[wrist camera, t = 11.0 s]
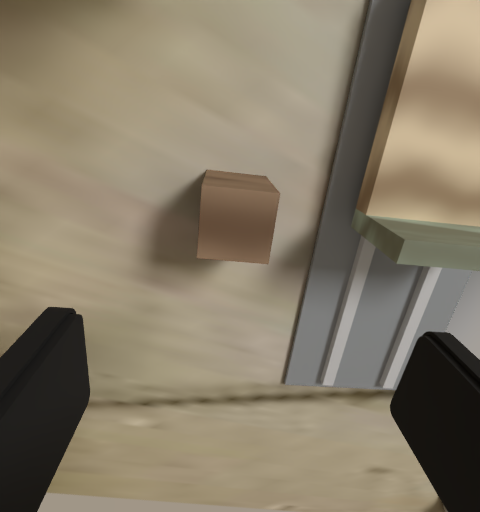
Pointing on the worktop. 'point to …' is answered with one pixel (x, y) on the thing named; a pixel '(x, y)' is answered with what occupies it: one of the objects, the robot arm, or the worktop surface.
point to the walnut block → (236, 217)
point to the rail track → (365, 251)
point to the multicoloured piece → (428, 144)
